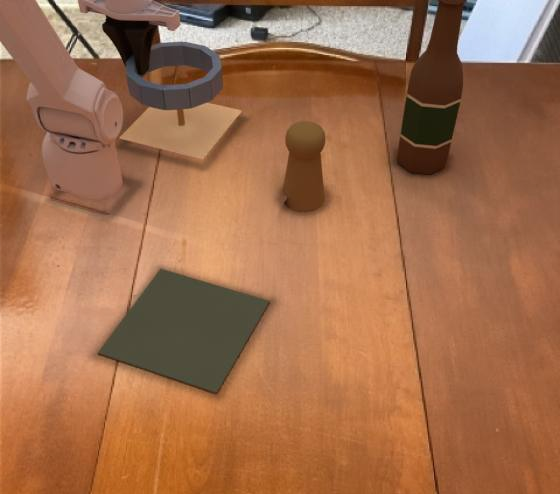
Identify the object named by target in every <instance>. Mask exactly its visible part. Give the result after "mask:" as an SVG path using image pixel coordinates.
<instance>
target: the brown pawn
mask: <svg viewBox="0 0 560 494" xmlns="http://www.w3.org/2000/svg"><path fill="white" fill-rule="evenodd" d="M284 138H285V147H286V149H287V151H288V156H287V163H286V169H285V175H284V181H283V186H282V187H283V189H282V192H283V194H284V195H285V196H286V197H287V198H285V201H284V202H283V205H284V206H285V207H286V208H288V209H290V210H292V211H296V212H300V213H301V212H303V213H307V212H312V211H315V210H317V209H319V208H320V207H322V206H323V205H324V202H325V187H324V186H325V185H324V176H323V164H322V154H321V153H322V151H323V150H324V148H325V146H326V133H325V131H324V129H323V128H322V126H321V125H320V124H318V123H316V122H314V121H309V120H301V121H297V122H294V123H293V124H291V125H290V126H289V127H288V129H287V130H286V132H285V137H284Z"/></svg>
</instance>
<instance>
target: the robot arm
mask: <svg viewBox="0 0 560 494" xmlns="http://www.w3.org/2000/svg"><path fill="white" fill-rule="evenodd" d="M77 4H78V9H79V13H82V14H89V13H94V14H99V15H104V16H105V19H104V20H105V21H104V22H103V23H101V29H102V31H103V33H104V34H105V35H106V36H107V37H108V39H109V40H110V41H111V42H112V44H113V46H114V47H115V49H116V50H117V53H118V54H119V57H120V59H121V61H122V63H123V65H124V67H125V68H126V61H127V60H128V59H129V58H130V57H131V56H133V55H134V59H135V65H136V69H137V72H138V75H144V74H145V73H146V72H147V71H148V70H149V61H150V52H151V46H152V45H153V41H154V38H155V34H156V31H157V29H158V27H164V28H166V30H167V31H171V32H175V31H176V30H178V28H179V27H180V26H181V25H182V24H181V16H180V10H178V9H174V8H171V7H168V6H166V5H164V4H161V3H160V2H157V1H155V0H77ZM0 44H1V45H2V46H3V48H4V49H5V50H6V51H7V53H8V54H9V55H10V56H11V58H12V60H13V61H14V62H15V63H16V65H17V66H18V68H19V69H20V71H22V73H23V74H24V75H25V76H26V78H27V79H28V81H29V84H28V87H27V93H26V98H25V102H27V103H28V105H29V106H30V108H31V110H32V112H33V116H34V120H35V122H36V124H37V126H38V127H39V129H40V130H42V131H43V132H45V133H46V134H45V135H44V138H43V140H42V144H41V157H42V161H43V165H44V168H45V171H46V174H47V178H48V180H49V184H50V187H51V188H52V189H55V190H57V191H60V192H64V193H67V194H70V195H72V196H74V197H76V198H77V199H79V200H82V201H86V202H99V201H104V200H107V199H110V198H112V197H114V196H115V195H117V194H118V193H119V192H120V191H121V189H122V188H123V186H124V185H123V184H124V180H123V176H122V171H121V167H120V162H119V158H118V151H117V148H116V147H117V146H116V143H115V140H116V139H117V137H118V136H119V135H120V133H121V130H122V127H123V121H124V110H123V105H122V102H121V100H120V98H119V96H118V94H117V93H116V92H115V91H114V90H113V91H112V90H110V89H108V87H107V86H106V85H105V82H103V81H102V80H101V79H99V78H97V77H95V76H94V75H92V74H90V73H89V72H86V71H84V70H83V69H81V68H79V66H78V65H77V64H76V62H75V61H74V59H73V57H72V55H71V54H70V52H69V51H68V49H67V48H66V46H65V45H64V43H63V41H62V39H61V38H60V36H59V35H58V33H57V32H56V30H55V29H54V27H53V25H52V24H51V22H50V20H49V19H48V18H47V16H46V13H44V11H43V9H42V8H41V6H40V5H39V3H38V1H37V0H0ZM50 200H52V201H54V202H58V203H62V204H64V205H68V206H71V207H75V208H78V209H83V210H86V211H90V212H93V213H96V214H100V215H104V216H110V215H111V213H109V212H106V211H103V210H99V209H95V208H91V207H88V206H84V205H82V204H78V203H73V202H70V201H68V200H63V199H59V198H56V197H53V196H50Z"/></svg>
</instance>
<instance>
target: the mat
mask: <svg viewBox="0 0 560 494" xmlns="http://www.w3.org/2000/svg"><path fill="white" fill-rule="evenodd" d="M270 302H271V301H270V300H268V299H265V298H261V297H258V296H255V295H251V294H248V293H244V292H241V291H237V290H235V289H231V288H227V287H224V286H221V285H217V284H214V283H211V282H207V281H204V280H201V279H197V278H193V277H190V276H187V275H185V274H180V273H177V272H175V271H174V272H173V271H171V270H167V269H164V268H159V270H158V271H157V272H156V273H155V275H154V276H153V278H152V279H151V281H150V282H149V283H148V285H147V286H146V287H145V289H143V292H142V293H141V294H140V295H139V297H138V298H137V299H136V300H135V302H134V303H133V305H132V306H131V307H130V308H129V310H128V311H127V313H126V314H125V315H124V316H123V318H122V319H121V320H120V322H119V323H118V324H117V326H116V327H115V329H114V330H113V331H112V333H111V334H109V337H108V338H107V339H106V341H105V342H104V343H103V344H102V346H101V347H100V349H99V350H98V351H97V355H99V356H102V357H105V358H108V359H111V360H114V361H117V362H120V363H123V364H126V365H129V366H132V367H134V368H138V369H141V370H144V371H146V372H150V373H152V374H155V375H159V376H161V377H164V378H167V379H171V380H174V381H177V382H179V383H183V384H185V385H189V386H191V387H195V388H198V389H200V390H203V391H206V392H209V393H212V394H215V395H218V394H219V392H220V389H221V388H222V386H223V385H224V383H225V381H226V379H227V377H228V375H229V374H230V372H231V370H232V369H233V367H234V366H235V364H236V362H237V360H238V358H239V357H240V355H241V353H242V351H243V349H244V348H245V347H246V345H247V343H248V342H249V339H250V337H251V336H252V334H253V333H254V331H255V329H256V327H257V326H258V324H259V322H260V320H261V318H262V317H263V315H264V313H265V312H266V310H267V308H268V307H269V304H270Z"/></svg>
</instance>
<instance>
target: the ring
mask: <svg viewBox="0 0 560 494" xmlns="http://www.w3.org/2000/svg"><path fill="white" fill-rule="evenodd" d="M178 66H181V67H182V66H186V67H191V68H195V69H200V70H202V71H204V72H205V73H206V74H205V76H204V77H201V78H198V79H196V80H193V81H190V82H187V83H180V84H165V85H164V84H161V83H156V82H151V81H146V80H145V79H144V77H145V76H146V75H147V74H148V73H150V72H153V71H155V70H159V69H162V68H165V67H178ZM125 77H126V82H127V87H128V94H129V95H130V96H131V97H132V99H134V100H136V101H137V102H138V103H139V104H140V105H142V106H144V107H148V108H149V107H152V108H157V109H161V110H179V109H190V108H194V107H197V106H199V105H202V104H204V103H210V102H212V101H213V100H214V99H215V98H216V97H217V96H218V94H220V92H222V90H223V88H224V80H223V66H222V61H221V56H220V55H219V54H218V53H217V52H215V51H214V50H212V49H211V48H210V47H208V46H206V45H203V44H199V43H193V42H190V41H189V42H188V41H168V42H160V43H155V44H152V46H151V52H150V61H149V70H148V71H147V72H146V73H145V74H144V75H138V72H137V69H136V65H135V59H134V55H133V56H131V57H130V58H129V59H128V60H127V61H126V67H125Z"/></svg>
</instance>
